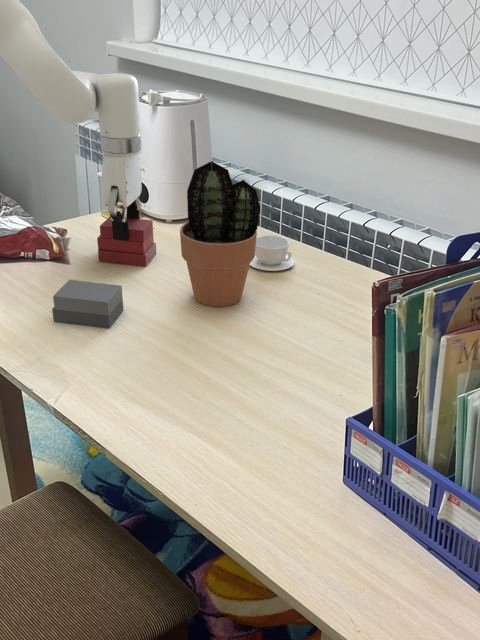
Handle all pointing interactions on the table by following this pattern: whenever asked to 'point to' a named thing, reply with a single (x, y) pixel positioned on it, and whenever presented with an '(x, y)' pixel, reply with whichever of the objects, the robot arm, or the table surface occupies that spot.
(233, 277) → the potted plant
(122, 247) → the burgundy book stack
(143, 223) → the burgundy book
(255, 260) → the teacup
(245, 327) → the table surface
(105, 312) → the grey book stack
